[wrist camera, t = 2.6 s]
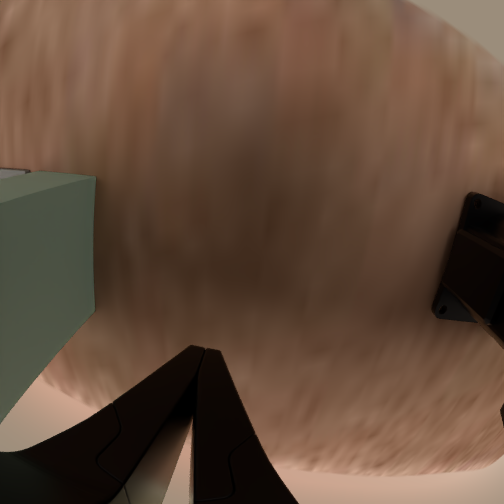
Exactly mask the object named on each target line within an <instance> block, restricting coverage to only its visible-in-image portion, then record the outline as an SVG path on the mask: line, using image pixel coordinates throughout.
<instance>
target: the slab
mask: <svg viewBox="0 0 504 504" xmlns="http://www.w3.org/2000/svg"><path fill="white" fill-rule="evenodd" d="M95 187H96V176H87V175H78V174H68V173H58V172H47V171H36V172H31V173H26V174H22V175H17V176H12V177H8V178H4V179H0V424H1V422H2V421H3V419H4V418H5V417H6V415H7V414H8V413H9V412H10V410H11V409H12V408H13V407H14V405H15V404H16V403H17V402H18V400H19V399H20V398H21V396H22V395H23V394H24V393H25V391H26V390H27V389H28V388H29V386H30V385H31V384H32V383H33V382H34V380H35V379H36V378H37V377H38V376H39V374H40V373H41V372H42V371H43V370H44V368H45V367H46V366H47V365H48V364H49V362H50V361H51V360H52V359H53V358H54V357H55V355H56V354H57V353H58V352H59V351H60V350H61V349H62V347H63V346H64V345H65V344H66V343H67V342H68V341H69V339H70V338H71V337H72V336H73V335H74V334H75V333H76V332H77V330H78V329H79V328H80V327H81V326H82V325H83V324H84V323H85V322H86V321H87V319H88V318H89V317H90V316H91V315H92V314H93V313H94V312H95V298H94V272H93V229H94V203H95Z"/></svg>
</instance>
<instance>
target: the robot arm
mask: <svg viewBox="0 0 504 504" xmlns="http://www.w3.org/2000/svg"><path fill="white" fill-rule="evenodd" d="M475 200H477V204H476V206H475V207H474V202H475ZM442 306H443V308H442V309H441V310H439V309H440V307H442ZM432 312H433V314H434V315H435V316H436V317H437V318H439V319H448V320H457V321H466V322H475V323H479V324H480V325H481V326H482V327H483V328H484V329H485V330H486V331H487V332H488V333H489V334H490V335H491V336H492V337H493V338H494V339H495V340H496V342H497V343H498V344H499V345H500V346H501V347H502V348H503V349H504V204H503V203H501V202H499V201H496V200H494V199H492V198H489V197H487V196H484V195H482V194H479V193H476V192H472V193H470V194H469V195H468V196H467V198H466V202H465V206H464V210H463V214H462V218H461V221H460V225H459V228H458V232H457V234H456V238H455V241H454V244H453V248H452V251H451V254H450V257H449V260H448V263H447V266H446V269H445V272H444V275H443V278H442V281H441V284H440V287H439V289H438V292H437V295H436V297H435V300H434V302H433V305H432ZM500 413H501V417H502V421H503V426H504V404H503V405H502V407H501V409H500ZM192 419H193V424H192V440H191V461H190V487H189V504H299V503H298V502H297V501H296V499H295V498H294V496H293V495H292V494H291V492H290V491H289V489H288V488H287V487H286V485H285V484H284V482H283V481H282V480H281V478H280V477H279V475H278V474H277V472H276V470H275V469H274V467H273V466H272V464H271V463H270V461H269V459H268V457H267V455H266V453H265V451H264V450H263V448H262V446H261V443H260V441H259V439H258V437H257V435H256V434H255V431H254V428H253V426H252V424H251V422H250V419H249V417H248V415H247V413H246V410H245V408H244V406H243V403H242V401H241V399H240V396H239V394H238V392H237V389H236V387H235V385H234V382H233V380H232V377H231V375H230V373H229V370H228V368H227V365H226V363H225V360H224V358H223V355H222V353H221V351H220V350H215V349H210V348H207V349H206V350H205V348H204V347H200V346H195V345H190V346H188V347H187V348H186V349H184V350H183V351H182V352H180V353H179V354H178V355H176V356H175V357H174V358H172V359H171V360H170V361H168V362H167V363H166V364H164V365H163V366H162V367H160V368H159V369H157V370H156V371H155V372H153V373H152V374H151V375H149V376H148V377H146V378H145V379H144V380H142V381H141V382H140V383H138V384H137V385H135V386H134V387H133V388H131V389H130V390H128V391H127V392H126V393H124V394H123V395H121V396H120V397H119V398H117V399H116V400H114V401H113V403H110V404H109V405H107V406H106V407H104V408H103V409H101V410H100V411H98V412H97V413H95V414H94V415H92V416H91V417H89V418H88V419H86V420H84V421H82V422H80V423H79V424H77V425H75V426H73V427H71V428H69V429H67V430H65V431H64V432H61V433H59V434H57V435H55V436H53V437H51V438H49V439H47V440H45V441H43V442H41V443H39V444H36V445H34V446H32V447H30V448H27V449H24V450H20V451H15V452H0V504H162V502H163V499H164V497H165V494H166V491H167V488H168V486H169V483H170V480H171V478H172V475H173V472H174V470H175V467H176V464H177V461H178V459H179V456H180V453H181V451H182V448H183V445H184V442H185V440H186V437H187V434H188V432H189V429H190V426H191V423H192Z"/></svg>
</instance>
